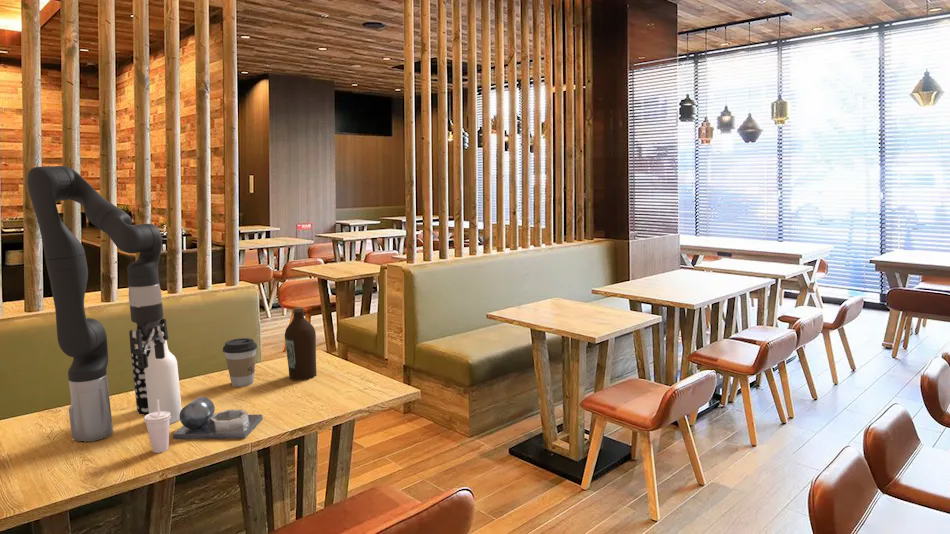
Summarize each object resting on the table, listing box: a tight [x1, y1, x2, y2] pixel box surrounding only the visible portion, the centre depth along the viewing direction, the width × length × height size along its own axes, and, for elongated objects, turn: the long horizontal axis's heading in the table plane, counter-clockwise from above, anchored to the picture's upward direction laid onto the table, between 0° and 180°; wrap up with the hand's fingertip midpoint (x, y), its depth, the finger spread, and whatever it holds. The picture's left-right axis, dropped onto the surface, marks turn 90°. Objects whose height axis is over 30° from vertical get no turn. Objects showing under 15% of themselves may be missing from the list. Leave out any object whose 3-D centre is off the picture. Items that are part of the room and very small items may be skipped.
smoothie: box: [143, 399, 171, 454], centre depth 174 cm, size 6×6×14 cm
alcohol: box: [144, 332, 183, 425], centre depth 194 cm, size 9×9×30 cm
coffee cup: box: [222, 337, 258, 388], centre depth 229 cm, size 11×11×15 cm
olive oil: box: [284, 306, 317, 381], centre depth 234 cm, size 11×11×25 cm
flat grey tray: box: [172, 396, 264, 440], centre depth 188 cm, size 20×14×8 cm
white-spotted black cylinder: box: [130, 346, 151, 416], centre depth 204 cm, size 8×8×20 cm
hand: (152, 363), depth 172 cm, fingers open, 8 cm apart
